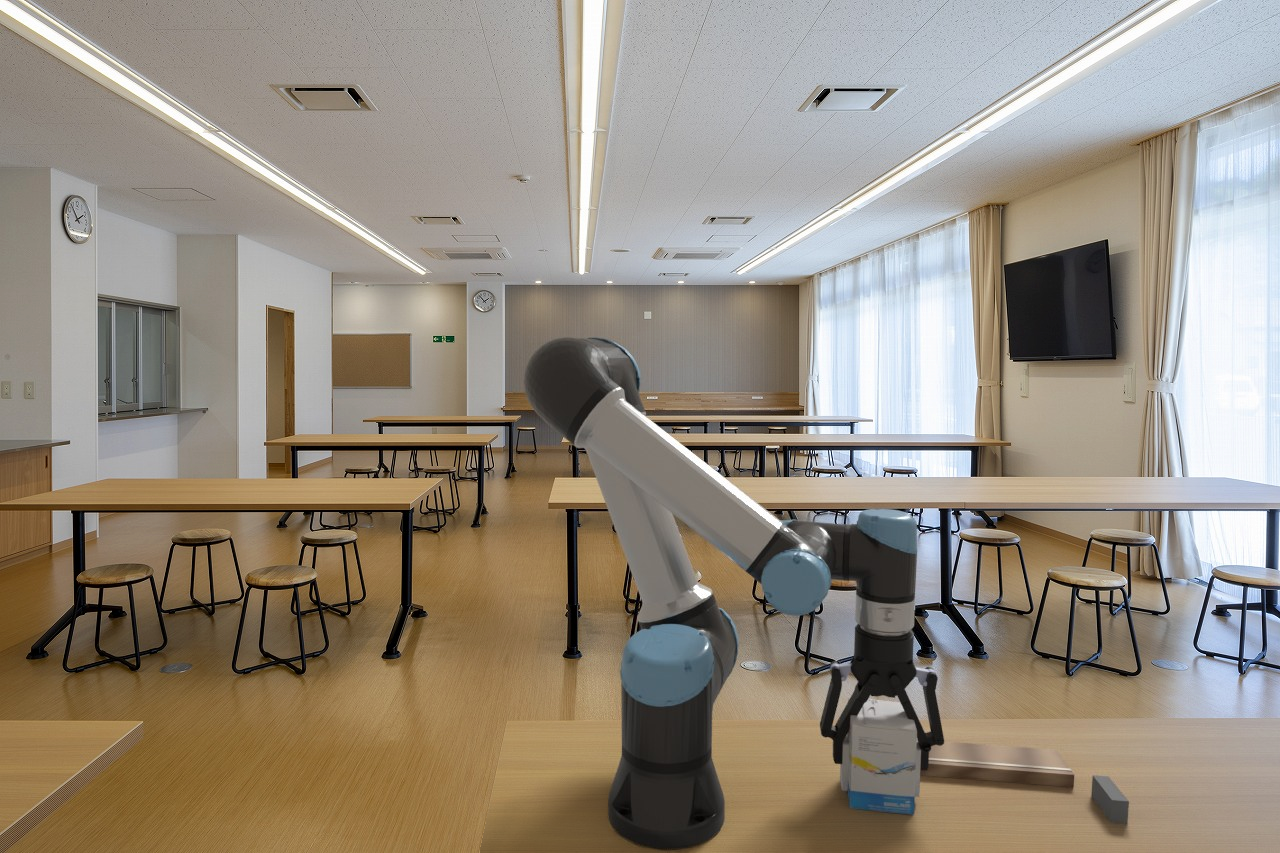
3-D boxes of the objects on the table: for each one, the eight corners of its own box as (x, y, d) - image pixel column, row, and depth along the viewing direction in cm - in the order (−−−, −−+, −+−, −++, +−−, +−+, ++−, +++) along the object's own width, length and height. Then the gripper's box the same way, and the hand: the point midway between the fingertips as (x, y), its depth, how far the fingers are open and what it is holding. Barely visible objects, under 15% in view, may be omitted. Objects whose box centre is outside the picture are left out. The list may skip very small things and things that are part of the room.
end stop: (1110, 822, 101) (1112, 800, 101) (1091, 796, 107) (1092, 775, 107) (1127, 823, 101) (1128, 801, 101) (1107, 797, 107) (1108, 776, 107)
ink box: (915, 816, 102) (919, 730, 101) (848, 808, 104) (850, 723, 103) (906, 781, 111) (909, 700, 110) (844, 774, 113) (846, 695, 111)
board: (879, 771, 113) (879, 759, 113) (872, 747, 120) (873, 735, 120) (1073, 787, 109) (1074, 774, 109) (1055, 761, 116) (1055, 748, 116)
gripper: (803, 632, 103) (800, 796, 105) (976, 641, 100) (968, 811, 102) (801, 613, 110) (797, 767, 113) (961, 621, 107) (954, 779, 109)
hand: (878, 788), depth 107 cm, fingers closed on ink box, 9 cm apart
